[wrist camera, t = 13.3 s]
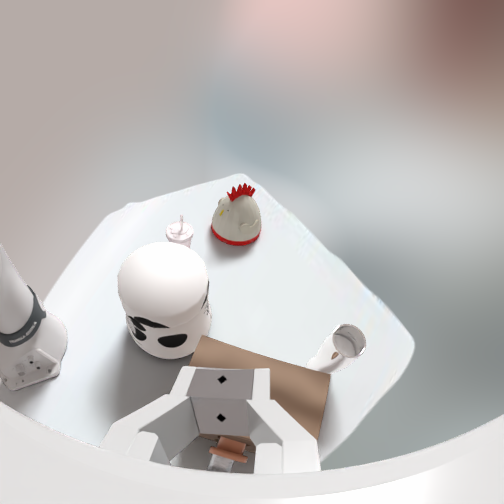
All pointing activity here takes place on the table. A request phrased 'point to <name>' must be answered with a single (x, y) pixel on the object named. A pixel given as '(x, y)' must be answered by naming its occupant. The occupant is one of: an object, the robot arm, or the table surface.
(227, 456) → the terracotta plug
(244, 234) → the kitchen timer
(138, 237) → the table surface
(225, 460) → the grey plug
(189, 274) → the milk container
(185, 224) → the smoothie
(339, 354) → the white hollow cylinder
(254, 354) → the box
